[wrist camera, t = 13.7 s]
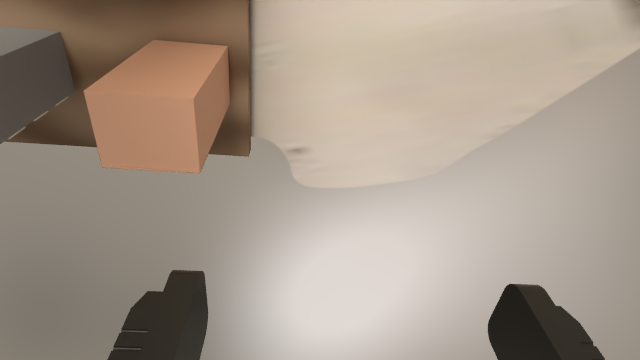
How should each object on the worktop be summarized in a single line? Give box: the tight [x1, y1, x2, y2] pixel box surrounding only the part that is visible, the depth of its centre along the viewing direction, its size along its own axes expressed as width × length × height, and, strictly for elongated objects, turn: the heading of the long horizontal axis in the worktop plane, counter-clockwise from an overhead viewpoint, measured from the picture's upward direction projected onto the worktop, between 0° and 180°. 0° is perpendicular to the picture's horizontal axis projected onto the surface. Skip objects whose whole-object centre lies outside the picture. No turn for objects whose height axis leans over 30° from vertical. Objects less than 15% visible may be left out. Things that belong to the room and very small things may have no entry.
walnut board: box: [0, 0, 251, 156], centre depth 33 cm, size 16×32×2 cm, turn 85°
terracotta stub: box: [84, 40, 230, 173], centre depth 28 cm, size 5×6×12 cm
